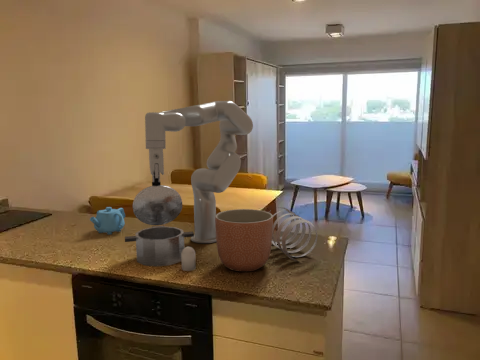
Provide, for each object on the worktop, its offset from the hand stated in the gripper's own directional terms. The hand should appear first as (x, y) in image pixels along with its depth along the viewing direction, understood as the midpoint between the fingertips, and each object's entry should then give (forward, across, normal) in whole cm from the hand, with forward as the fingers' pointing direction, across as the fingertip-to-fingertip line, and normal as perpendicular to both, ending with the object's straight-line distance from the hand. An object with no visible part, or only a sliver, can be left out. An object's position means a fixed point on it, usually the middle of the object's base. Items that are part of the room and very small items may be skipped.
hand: (156, 192), depth 165 cm
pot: (+25, -4, -1) cm, 26 cm away
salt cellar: (+25, -18, -10) cm, 33 cm away
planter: (+25, -21, -30) cm, 45 cm away
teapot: (+25, +38, +20) cm, 50 cm away
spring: (+24, -8, -52) cm, 58 cm away
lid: (+6, +1, -1) cm, 6 cm away
